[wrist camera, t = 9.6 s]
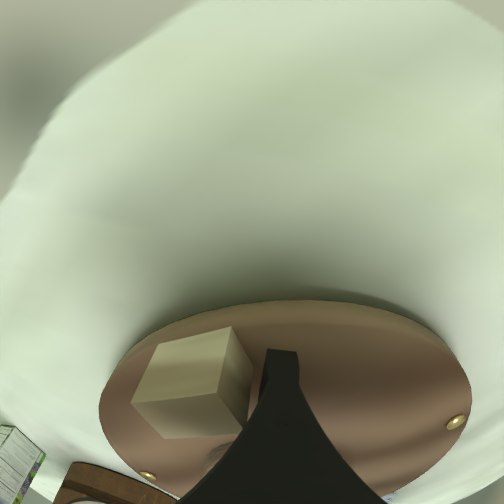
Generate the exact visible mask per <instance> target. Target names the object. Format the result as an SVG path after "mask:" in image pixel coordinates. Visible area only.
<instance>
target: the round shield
mask: <svg viewBox="0 0 504 504" xmlns="http://www.w3.org/2000/svg"><path fill="white" fill-rule="evenodd" d="M267 348H268V349H277V350H286V351H295V352H297V356H298V361H299V366H300V372H299V385H300V387H301V390H302V392H303V394H304V396H305V398H306V400H307V402H308V404H309V406H310V408H311V410H312V412H313V414H314V415H315V417H316V419H317V421H318V423H319V424H320V426H321V427H322V429H323V431H324V432H325V434H326V435H327V437H328V438H329V440H330V441H331V443H332V444H333V446H334V447H335V448H336V449H337V450H338V451H340V452H341V453H342V455H343V457H344V459H345V461H346V462H347V463H348V465H349V466H350V467H351V468H352V469H353V470H354V471H355V472H356V474H357V475H358V476H359V477H360V478H361V479H362V480H363V481H364V482H365V483H366V484H367V485H368V486H369V487H370V488H371V489H372V490H373V491H374V492H375V493H376V494H377V495H378V496H380V497H383V496H385V495H387V494H390V493H392V492H394V491H396V490H398V489H400V488H402V487H403V486H405V485H407V484H408V483H410V482H412V481H413V480H415V479H416V478H418V477H419V476H421V475H422V474H424V473H425V472H426V471H428V470H429V469H430V468H431V467H432V466H434V465H435V464H436V463H437V462H438V461H439V460H440V459H441V458H442V457H443V456H444V455H445V454H446V453H447V452H448V451H449V450H450V449H451V448H452V446H453V445H454V444H455V442H456V441H457V440H458V438H459V437H460V435H461V433H462V431H463V429H464V428H465V426H466V423H467V420H468V418H469V415H470V411H471V404H472V394H471V386H470V384H469V381H468V378H467V376H466V373H465V372H464V370H463V368H462V367H461V365H460V363H459V362H458V360H457V358H456V357H455V355H454V354H453V352H452V351H451V350H450V348H449V347H448V346H447V344H446V343H445V342H444V341H443V340H442V339H441V338H439V337H438V336H437V335H436V334H435V333H433V332H432V331H431V330H430V329H428V328H426V327H424V326H423V325H421V324H419V323H417V322H415V321H413V320H411V319H409V318H407V317H404V316H401V315H398V314H395V313H392V312H389V311H386V310H383V309H380V308H374V307H369V306H364V305H359V304H354V303H347V302H334V301H322V300H278V301H266V302H258V303H249V304H240V305H234V306H229V307H225V308H220V309H216V310H211V311H207V312H202V313H199V314H196V315H193V316H190V317H188V318H185V319H182V320H179V321H176V322H173V323H171V324H169V325H167V326H165V327H163V328H161V329H159V330H157V331H155V332H153V333H151V334H149V335H148V336H147V337H145V338H144V339H143V340H141V341H140V342H139V343H137V344H136V345H135V346H133V347H132V348H131V349H130V350H129V351H128V352H127V353H126V355H125V356H124V357H123V358H122V359H121V360H120V361H119V363H118V365H117V367H116V368H115V370H114V372H113V373H112V375H111V377H110V379H109V380H108V382H107V384H106V386H105V388H104V390H103V392H102V394H101V398H100V403H99V419H100V423H101V426H102V429H103V432H104V434H105V436H106V438H107V440H108V442H109V444H110V445H111V446H112V448H113V449H114V450H115V452H116V453H117V454H118V455H119V457H120V458H121V459H122V460H123V461H124V462H125V463H126V464H127V465H128V466H129V467H131V468H132V469H133V470H134V471H135V472H137V473H138V474H139V475H141V476H142V477H143V478H145V479H146V480H148V481H149V482H151V483H152V484H154V485H156V486H158V487H159V488H161V489H163V490H165V491H167V492H169V493H171V494H173V495H175V496H177V497H180V498H182V497H183V496H184V495H185V494H186V493H187V492H189V491H190V490H191V489H192V488H193V487H194V486H195V485H196V484H197V483H198V482H199V481H200V480H201V478H202V473H203V469H204V464H205V459H206V456H207V455H208V453H209V452H210V451H212V450H213V449H214V448H216V447H218V446H220V445H222V444H225V443H228V442H232V441H235V439H236V438H237V437H238V435H239V434H240V432H241V431H242V429H243V428H244V426H245V425H246V423H247V421H248V420H249V418H250V416H251V415H252V413H253V411H254V409H255V407H256V405H257V404H258V395H259V388H260V383H261V378H262V373H263V368H264V362H265V357H266V352H267Z"/></svg>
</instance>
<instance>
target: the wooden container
mask: <svg viewBox="0 0 504 504" xmlns="http://www.w3.org/2000/svg"><path fill="white" fill-rule="evenodd" d="M176 502H177V501H176V500H175V499H173V498H172V497H170V496H168V495H167V494H165V493H163V492H161V491H159V490H157V489H155V488H153V487H151V486H148V485H146V484H144V483H142V482H139V481H137V480H135V479H132V478H130V477H127V476H125V475H122V474H119V473H117V472H114V471H111V470H108V469H105V468H102V467H98V466H94V465H90V464H86V463H73V464H72V465H71V466H70V468H69V470H68V472H67V474H66V476H65V478H64V480H63V483H62V485H61V487H60V489H59V491H58V493H57V495H56V497H55V499H54V502H53V504H175V503H176Z"/></svg>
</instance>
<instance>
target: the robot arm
mask: <svg viewBox="0 0 504 504" xmlns="http://www.w3.org/2000/svg"><path fill="white" fill-rule="evenodd" d="M299 372H300V366H299V361H298V356H297V352H295V351H286V350H277V349H268V348H267V352H266V357H265V362H264V368H263V373H262V378H261V383H260V388H259V395H258V404H257V405H256V407H255V409H254V411H253V413H252V415H251V416H250V418H249V420H248V421H247V423H246V425H245V426H244V428H243V429H242V431H241V432H240V434H239V435H238V437H237V438H236V439H235V441H234V442H233V443H232V445H231V446H230V447H229V449H228V450H227V451H226V452H225V454H224V455H223V456H222V457H221V459H220V460H219V461H218V462H217V463H216V464H215V465H214V467H213V468H212V469H211V470H210V471H209V472H208V473H207V474H206V475H205V476H204V477H203V478H202V479H201V480H200V481H199V482H198V483H197V484H196V485H195V486H194V487H193V488H192V489H191V490H190V491H189V492H187V493H186V494H185V495H184V496H183V497H182V498H180V499H179V500H178V501H177V502H176V503H175V504H388V502H389V501H390V500H392V499H393V498H394V497H395V496H396V493H390V494H387V495H385V496H383V497H380V496H378V495H377V494H376V493H375V492H374V491H373V490H372V489H371V488H370V487H369V486H368V485H367V484H366V483H365V482H364V481H363V480H362V479H361V478H360V477H359V476H358V475H357V474H356V472H355V471H354V470H353V469H352V468H351V467H350V466H349V465H348V463H347V462H346V461H345V460H344V459H343V457H342V456H341V455H340V453H339V452H338V451H337V450H336V448H335V447H334V446H333V444H332V443H331V441H330V440H329V438H328V437H327V435H326V434H325V432H324V431H323V429H322V427H321V426H320V424H319V423H318V421H317V419H316V417H315V415H314V414H313V412H312V410H311V408H310V406H309V404H308V402H307V400H306V398H305V396H304V394H303V392H302V390H301V387H300V385H299ZM0 504H10V503H9V502H7V501H6V500H4V499H3V498H2V497H0Z"/></svg>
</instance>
